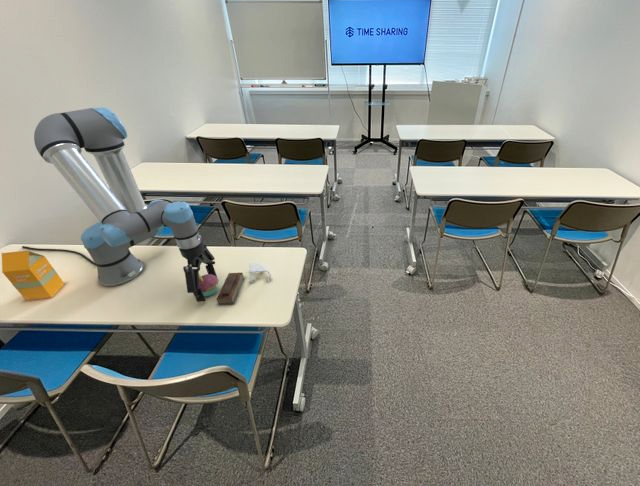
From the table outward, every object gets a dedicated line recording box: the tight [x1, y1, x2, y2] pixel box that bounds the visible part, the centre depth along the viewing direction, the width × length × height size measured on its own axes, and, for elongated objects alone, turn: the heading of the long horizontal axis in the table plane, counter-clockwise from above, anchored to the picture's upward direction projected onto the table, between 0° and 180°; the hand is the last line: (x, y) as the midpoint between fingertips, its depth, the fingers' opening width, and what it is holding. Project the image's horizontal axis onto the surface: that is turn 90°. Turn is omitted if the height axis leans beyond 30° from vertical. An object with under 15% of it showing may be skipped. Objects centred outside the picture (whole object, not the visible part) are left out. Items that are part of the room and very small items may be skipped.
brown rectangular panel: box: [216, 272, 245, 306], centre depth 114 cm, size 14×6×4 cm, turn 3°
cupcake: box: [199, 273, 219, 297], centre depth 112 cm, size 9×8×12 cm
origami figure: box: [247, 263, 272, 283], centre depth 120 cm, size 12×8×5 cm
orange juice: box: [1, 250, 65, 301], centre depth 110 cm, size 8×9×20 cm
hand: (207, 289), depth 114 cm, fingers open, 12 cm apart
